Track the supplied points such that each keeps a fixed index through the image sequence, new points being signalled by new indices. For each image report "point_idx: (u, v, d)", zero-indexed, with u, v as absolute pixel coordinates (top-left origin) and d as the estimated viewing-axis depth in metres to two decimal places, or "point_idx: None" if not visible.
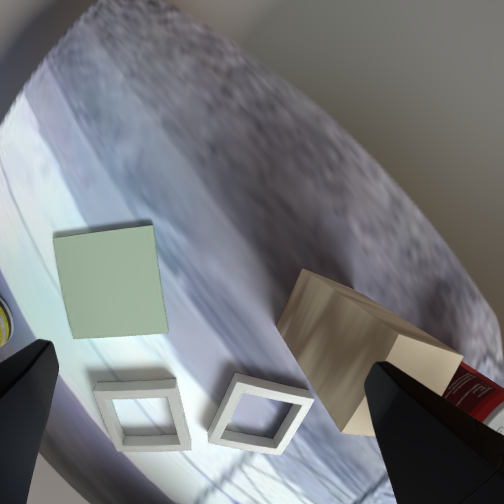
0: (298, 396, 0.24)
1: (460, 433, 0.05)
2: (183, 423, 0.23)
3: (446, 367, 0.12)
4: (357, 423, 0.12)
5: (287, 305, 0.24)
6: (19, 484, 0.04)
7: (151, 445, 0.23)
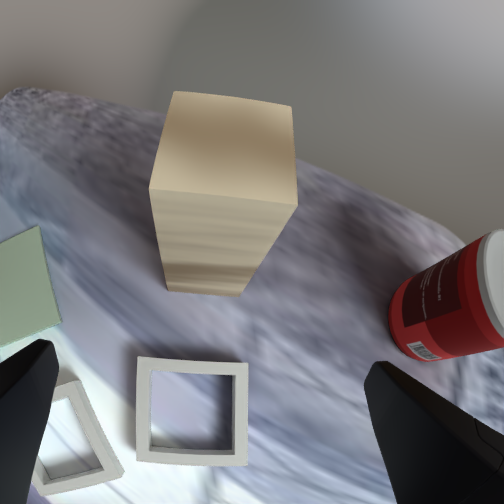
0: (223, 363, 0.19)
1: (460, 433, 0.05)
2: (96, 434, 0.16)
3: (269, 114, 0.12)
4: (167, 173, 0.10)
5: None
6: (19, 484, 0.04)
7: (73, 479, 0.14)
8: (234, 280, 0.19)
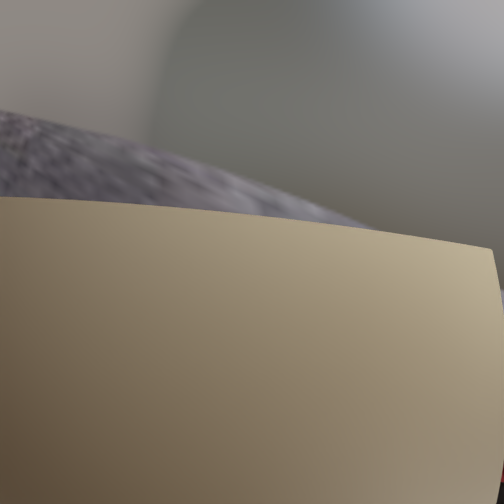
0: None
1: None
2: None
3: (447, 323, 0.02)
4: None
5: None
6: None
7: None
8: None
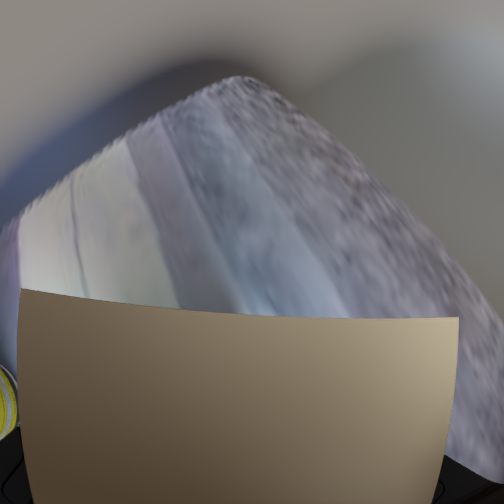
0: None
1: None
2: None
3: (399, 388, 0.03)
4: None
5: None
6: None
7: None
8: None
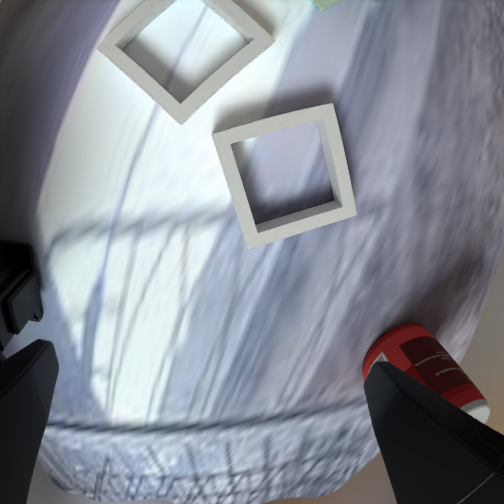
0: (351, 191, 0.18)
1: (460, 433, 0.05)
2: (223, 81, 0.15)
3: None
4: None
5: None
6: (19, 484, 0.04)
7: (146, 73, 0.14)
8: None
